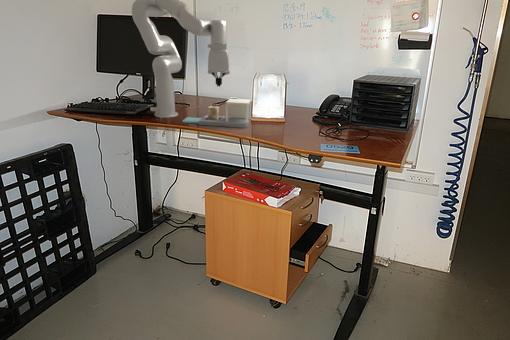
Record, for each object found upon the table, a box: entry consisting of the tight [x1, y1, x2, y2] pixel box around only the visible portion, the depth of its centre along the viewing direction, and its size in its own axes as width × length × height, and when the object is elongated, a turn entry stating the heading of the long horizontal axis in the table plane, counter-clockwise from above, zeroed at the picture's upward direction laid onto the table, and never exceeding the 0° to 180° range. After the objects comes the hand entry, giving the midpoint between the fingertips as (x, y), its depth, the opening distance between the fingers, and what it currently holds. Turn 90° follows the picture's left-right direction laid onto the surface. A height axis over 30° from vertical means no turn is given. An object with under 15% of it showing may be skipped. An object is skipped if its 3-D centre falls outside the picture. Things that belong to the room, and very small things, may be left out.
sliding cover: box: [225, 98, 252, 123], centre depth 192 cm, size 11×10×10 cm
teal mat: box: [181, 116, 203, 125], centre depth 198 cm, size 9×9×1 cm
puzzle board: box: [198, 114, 251, 129], centre depth 195 cm, size 24×14×2 cm, turn 82°
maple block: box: [207, 105, 220, 121], centre depth 195 cm, size 4×4×8 cm
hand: (218, 85), depth 190 cm, fingers closed
